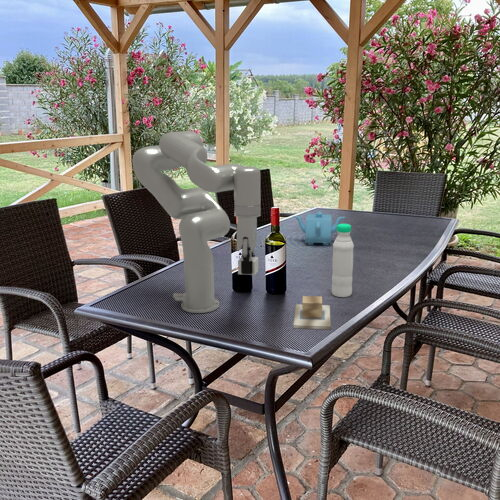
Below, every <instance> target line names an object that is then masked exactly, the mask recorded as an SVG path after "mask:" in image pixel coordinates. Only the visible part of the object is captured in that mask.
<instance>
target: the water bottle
mask: <svg viewBox="0 0 500 500" xmlns="http://www.w3.org/2000/svg"><path fill="white" fill-rule="evenodd" d="M336 232H337V235H336V238H335V240H334V241H333V244H332V248H333V251H332V261H331V262H332V277H331V284H332V285H331V294H332V295H333V296H335V297H337V298H347V297H350V296H351V295H352V294H353V285H352V284H353V271H354V270H353V269H354V248H355V244H354V242H353V240H352V237H351V235H350V233H351V232H352V225H351V224H349V223H339V225H337V230H336Z"/></svg>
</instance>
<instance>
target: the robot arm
mask: <svg viewBox="0 0 500 500" xmlns="http://www.w3.org/2000/svg"><path fill="white" fill-rule="evenodd" d="M159 139H160V140H159V141H158V145H150V146H144V147H141V148H139V149H137V150H136V151H135V153H134V154H133V156H132V161H131V162H132V168H133V173H134V174H135V177H136V178H137V181H139V182H140V184H141V185H142V186H143V187H145V189H147V191H148V192H149V193H151V194H152V196H153V197H155V199H156V200H157V202H158V203H159V204H160V206H161V207H162V209H164V210H165V212H166V213H167V214H168V215H169V216H170V217H171V218H172V219H173V220H179V224H178V232H179V236H180V241H181V246H182V253H183V268H184V270H183V272H184V290H185V291H184V292H183V293H179V292H178V293H177V292H174V293H173V294H172V295H173V296H172V298H173V299H174V302H181V304H180V305H181V309H182V310H183V311H185V312H187V313H191V314H205V313H210V312H214V311H216V310H217V309H218V308H220V300H218V299H217V298H215V274H214V273H215V271H214V255H213V254H214V253H213V251H212V249H211V247H210V246H209V244H208V241H211V240H215V239H219V238H221V237H224V236H226V235H227V234H228V233H229V231H230V229H231V221H230V219H229V216H228V214H227V213H226V211H225V210H224V209H223V208H222V206H221V205H220V204H219V203H218V202H217V201H216V200H215V198H213V196H212V195H211V194H210V193H213V194H214V193H221V192H228V191H233V200H234V201H233V204H234V208H233V210H234V217H236V218H237V221H236V222H237V223H236V251H237V252H240V251H241V257H242V260H241V273H242V274H241V275H245V274H252V273H253V269H252V261H251V257H256V255H255V248H256V245H257V242H258V241H257V239H258V236H257V235H258V221H257V220H258V217H261V213H262V212H261V210H262V209H261V200H262V199H261V170H260V169H259V167H256V166H249V165H248V166H245V165H242V164H239V163H228V164H220V165H213V166H211V165H208V164H207V162H208V151H207V150H206V147H204V142H203V140H202V137H201V135H199V134H198V133H197V132H195V131H192V130H187V131H186V130H185V131H183V130H182V131H170V132H167V133H165V134H163V135H162V136H161V138H159ZM181 167H182V168H184V169H186V173H187V176H188V179H189V180H190V182H191V183H193V184H194V185H195V186H196V187H192V188H182V187H180V185H179V184H177V182H176V181H175V180H174V179H173V178H172V177H171V176H170V175H167V174H165V173H164V172H162V171H173V170H177V169H180V168H181Z"/></svg>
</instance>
